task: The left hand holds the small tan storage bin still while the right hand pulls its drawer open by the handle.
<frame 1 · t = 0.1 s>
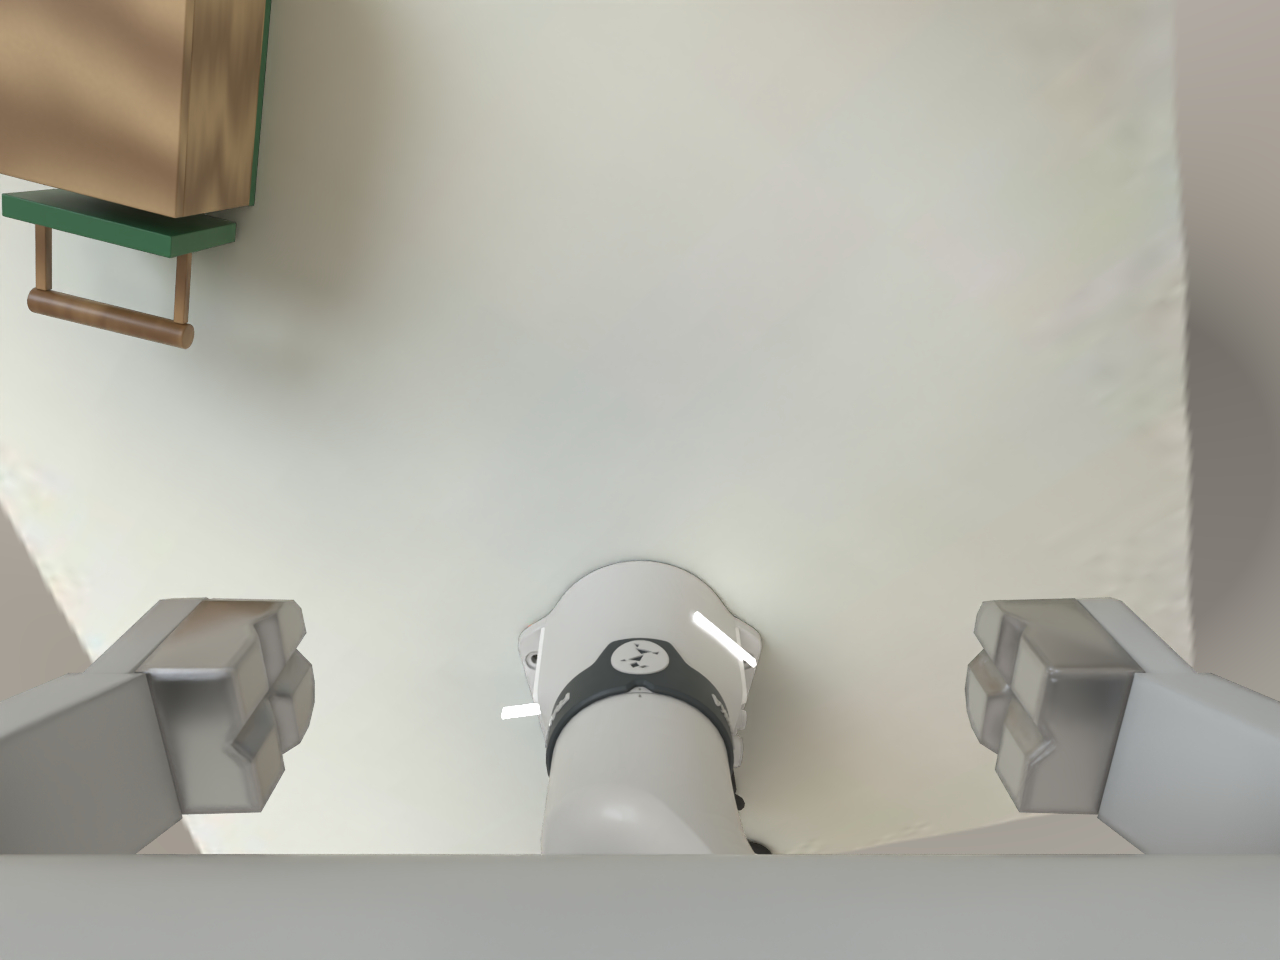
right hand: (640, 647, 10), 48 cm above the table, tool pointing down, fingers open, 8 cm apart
drawer: (130, 140, 48), point 5 cm above the table, slide at 1.2 cm
tan storage bin: (180, 36, 51), on the table
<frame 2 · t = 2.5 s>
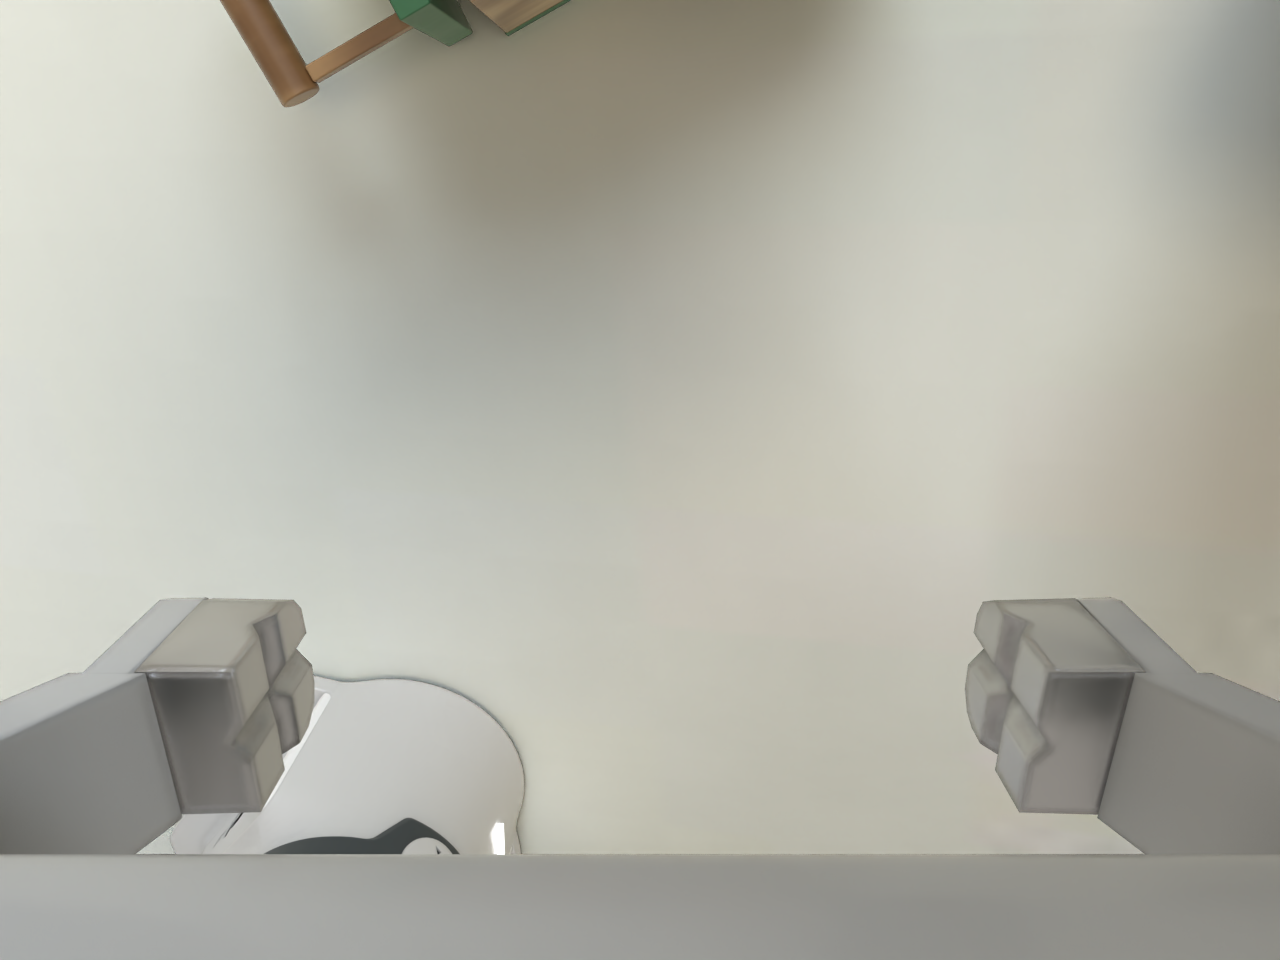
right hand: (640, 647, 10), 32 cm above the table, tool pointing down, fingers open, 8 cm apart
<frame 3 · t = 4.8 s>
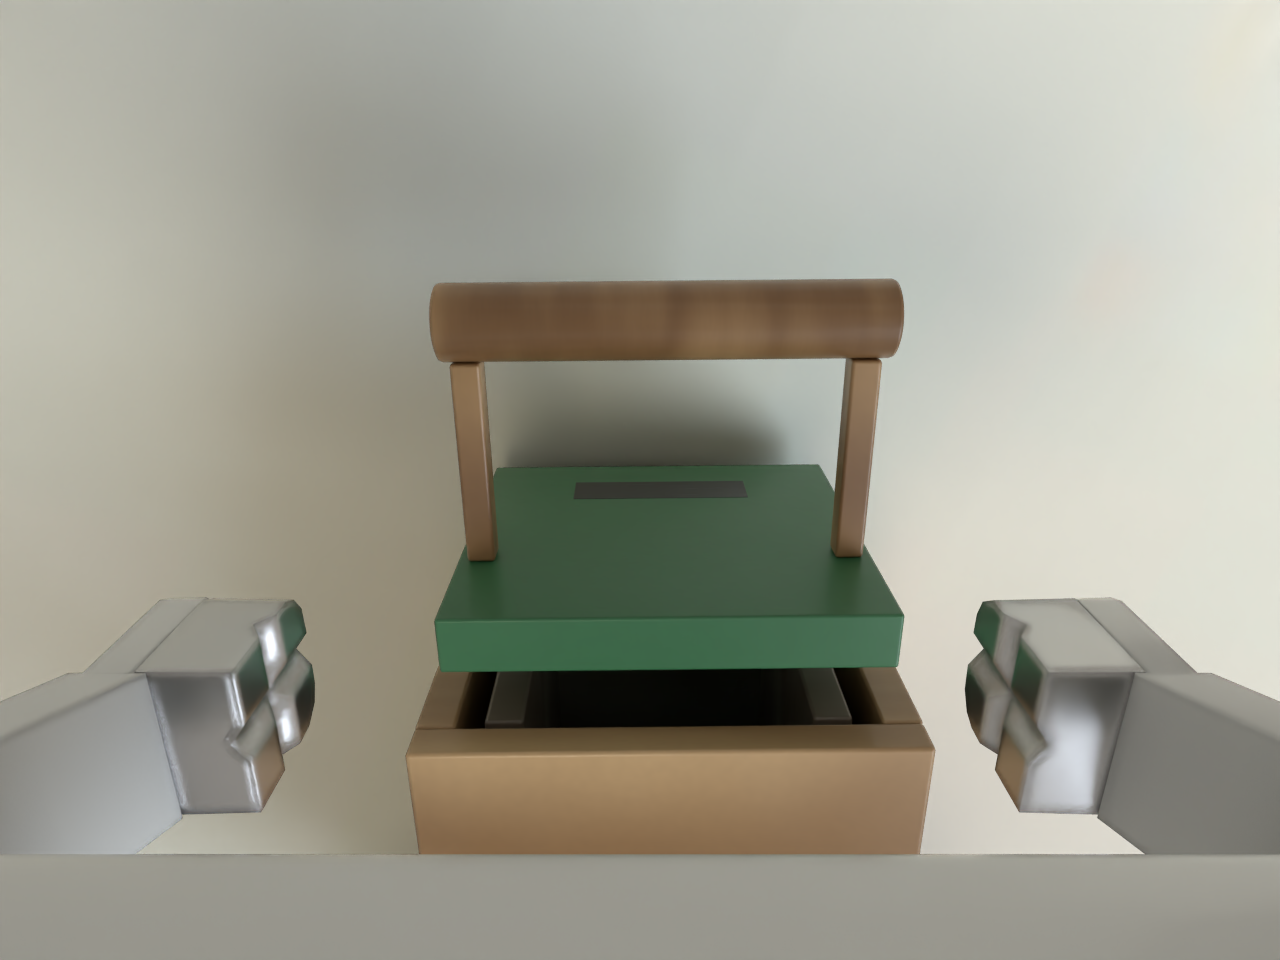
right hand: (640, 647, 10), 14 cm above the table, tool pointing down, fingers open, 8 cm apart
drawer: (662, 707, 22), point 5 cm above the table, slide at 1.2 cm
tan storage bin: (657, 760, 28), on the table, touching left hand
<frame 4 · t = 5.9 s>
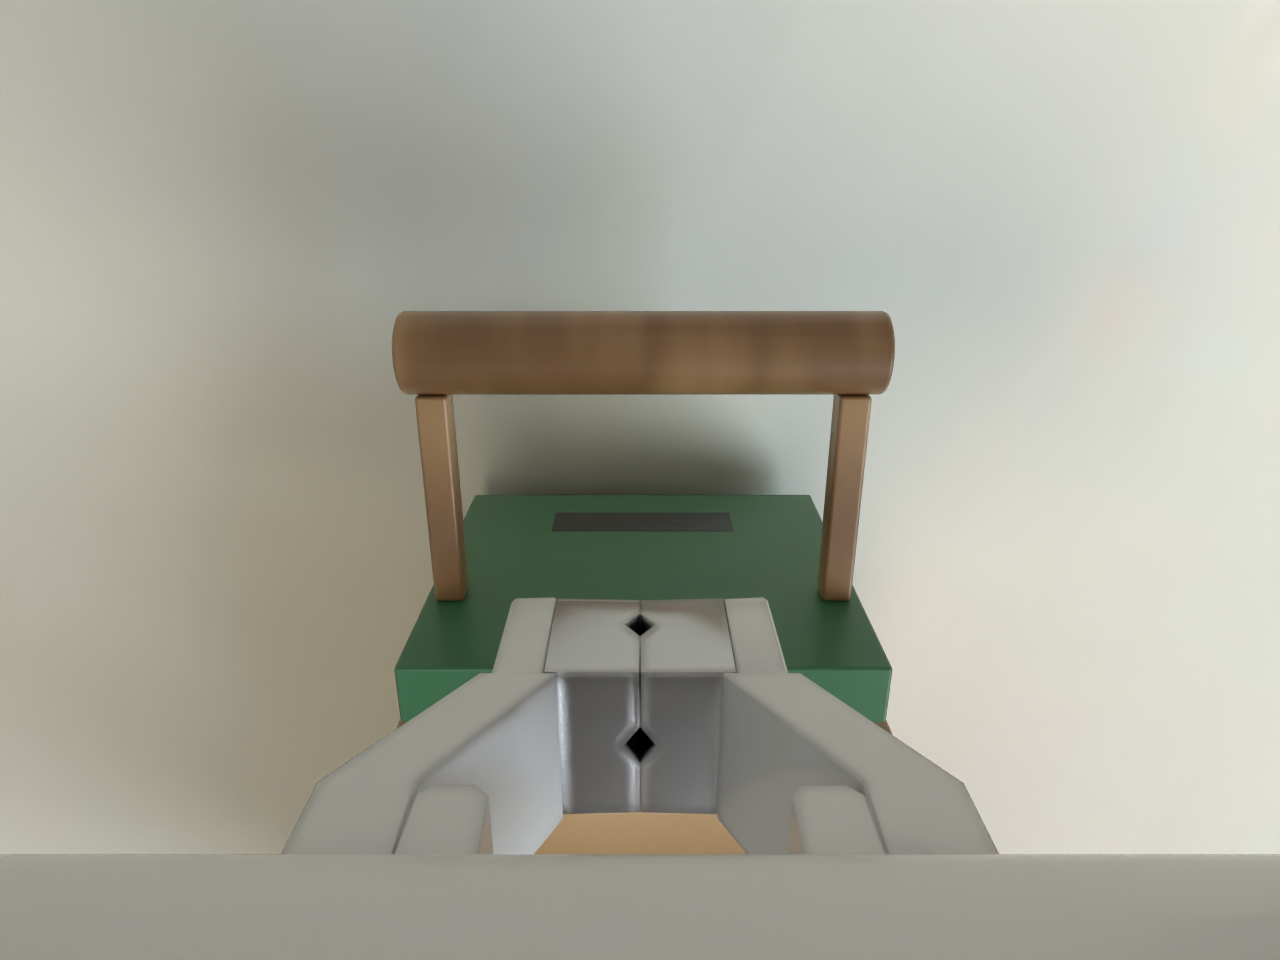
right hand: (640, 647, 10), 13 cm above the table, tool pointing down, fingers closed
drawer: (642, 749, 21), point 5 cm above the table, slide at 1.2 cm
tan storage bin: (642, 794, 28), on the table, touching left hand
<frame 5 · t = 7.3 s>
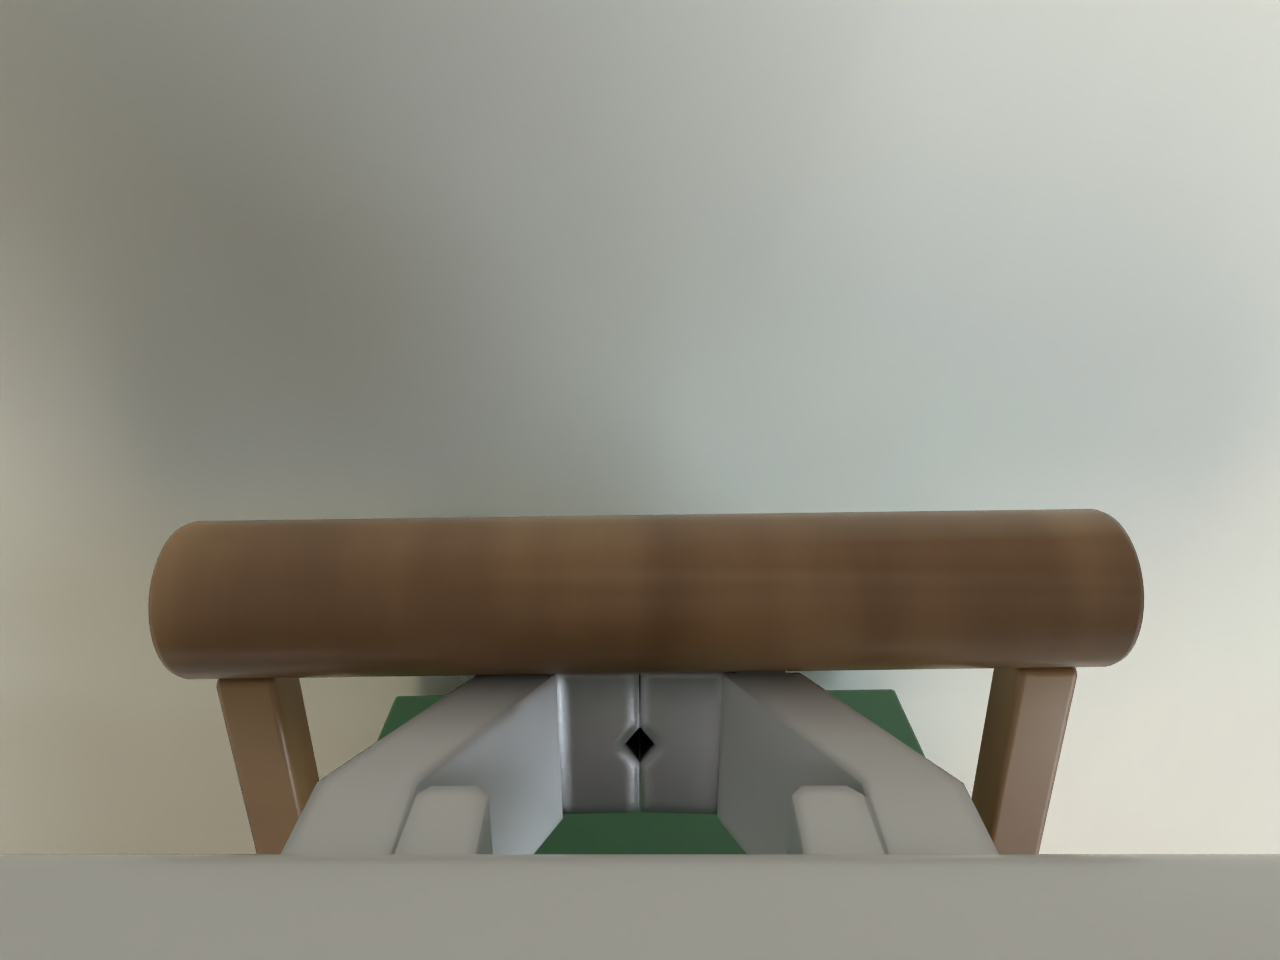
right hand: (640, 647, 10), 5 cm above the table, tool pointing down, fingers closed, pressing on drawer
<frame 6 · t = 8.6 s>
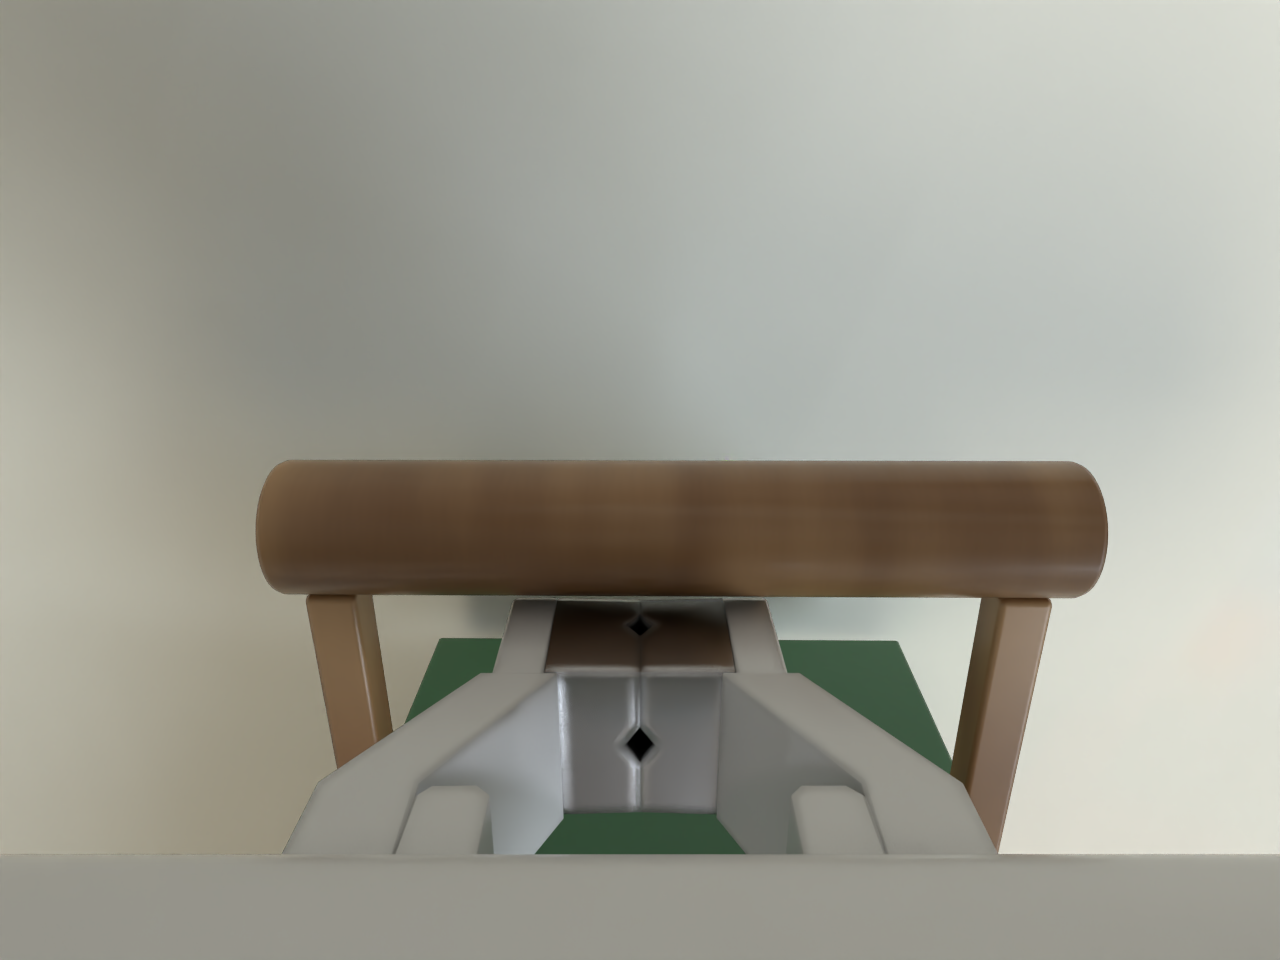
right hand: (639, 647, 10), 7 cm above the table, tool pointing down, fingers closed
when the left hand's fingers open (5 cm above the table, at t = 10.0 s): tan storage bin stays where it is, on the table.
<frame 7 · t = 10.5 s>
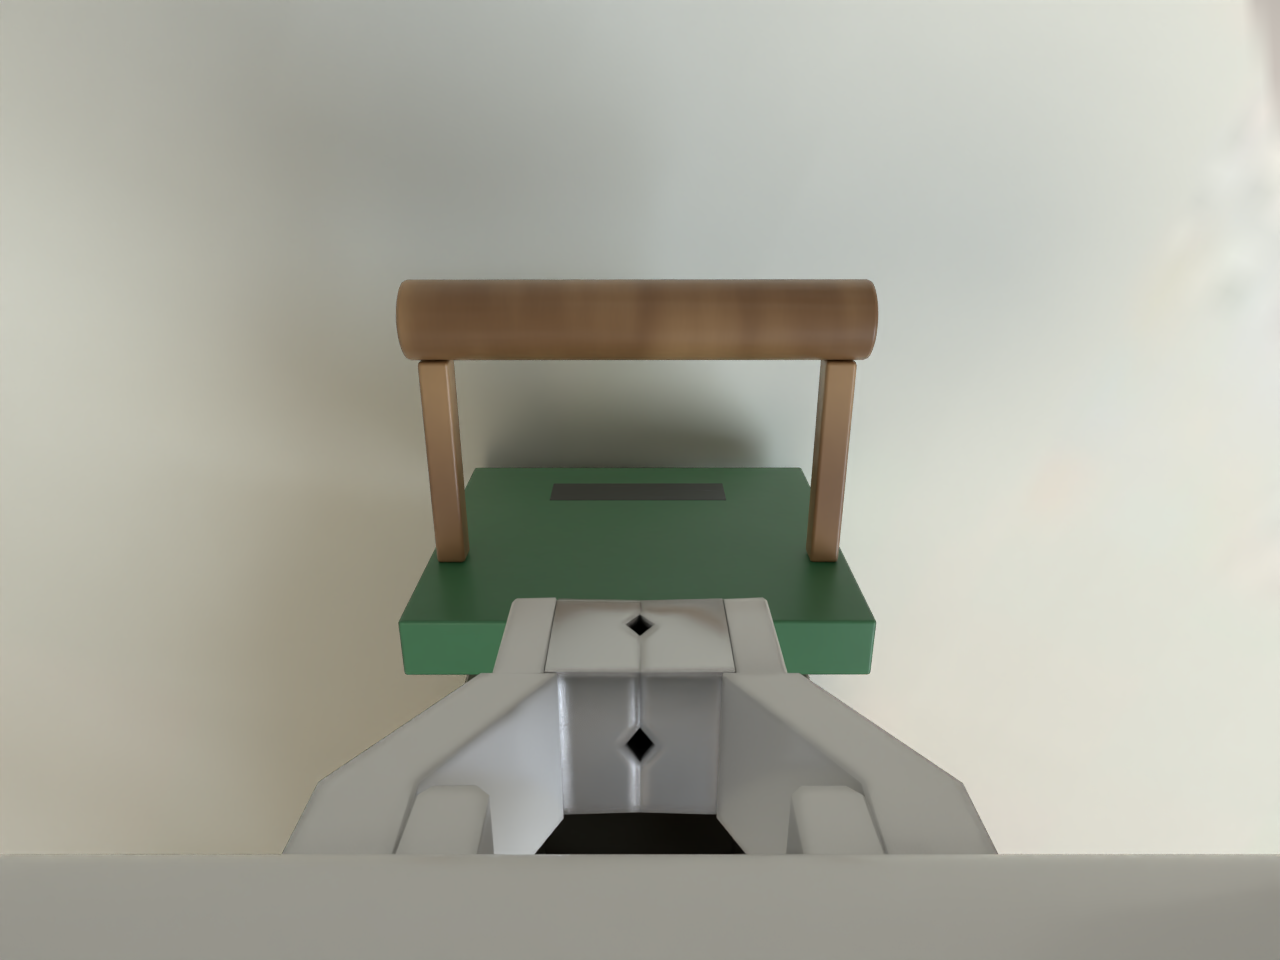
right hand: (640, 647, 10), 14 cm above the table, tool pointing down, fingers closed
drawer: (638, 711, 21), point 5 cm above the table, slide at 6.4 cm
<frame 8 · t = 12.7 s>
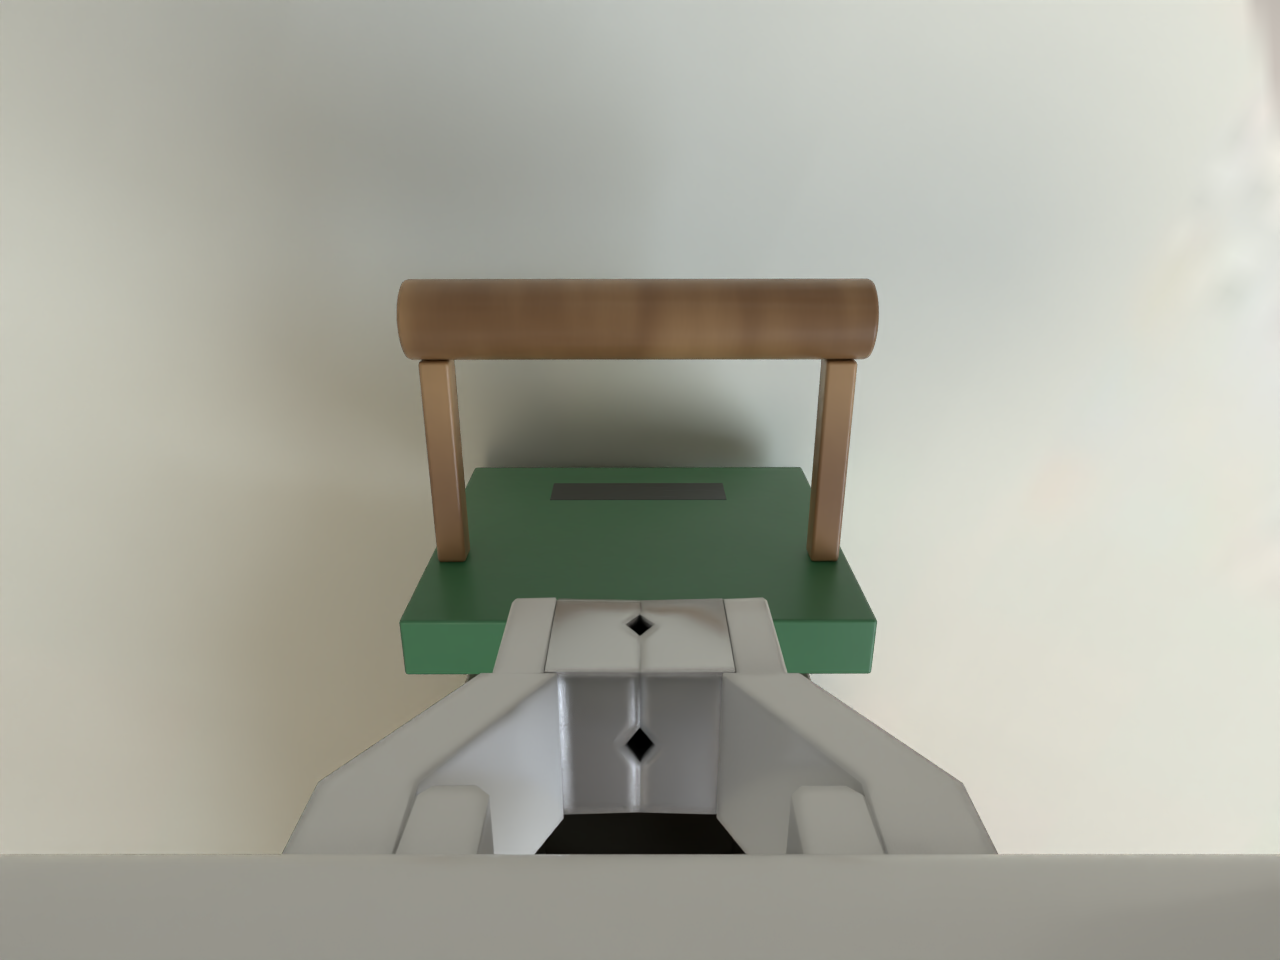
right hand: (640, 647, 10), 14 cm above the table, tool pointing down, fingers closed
drawer: (638, 711, 21), point 5 cm above the table, slide at 6.4 cm
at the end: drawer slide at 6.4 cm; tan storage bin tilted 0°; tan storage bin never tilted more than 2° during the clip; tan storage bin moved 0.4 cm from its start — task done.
